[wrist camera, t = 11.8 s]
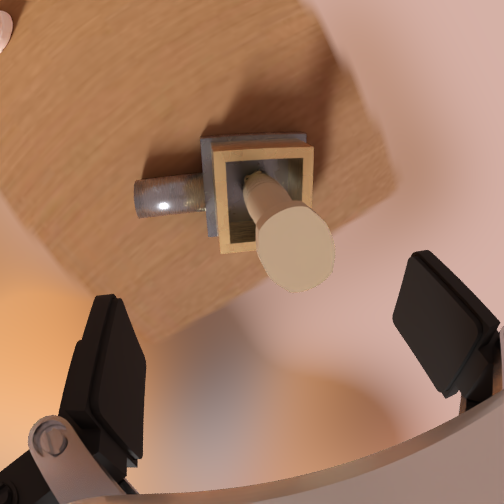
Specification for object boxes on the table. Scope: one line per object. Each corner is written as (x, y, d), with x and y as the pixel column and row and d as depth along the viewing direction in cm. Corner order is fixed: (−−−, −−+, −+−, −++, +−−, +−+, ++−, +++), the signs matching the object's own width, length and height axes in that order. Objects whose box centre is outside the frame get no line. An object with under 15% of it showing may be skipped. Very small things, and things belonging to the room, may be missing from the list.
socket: (134, 144, 30) (121, 157, 24) (302, 132, 32) (324, 141, 27) (148, 237, 35) (141, 266, 30) (299, 222, 38) (318, 248, 32)
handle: (264, 148, 31) (316, 193, 18) (287, 199, 34) (344, 272, 22) (222, 169, 32) (243, 229, 19) (248, 218, 35) (282, 302, 22)
